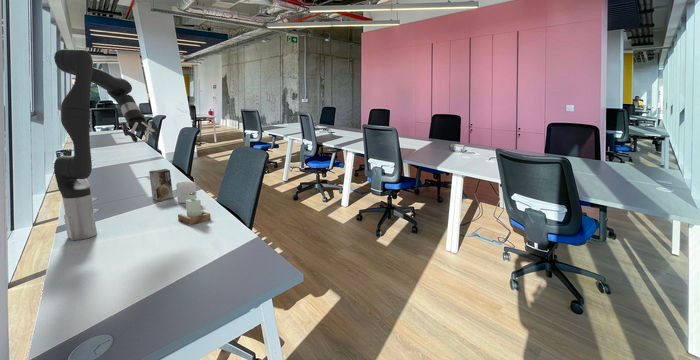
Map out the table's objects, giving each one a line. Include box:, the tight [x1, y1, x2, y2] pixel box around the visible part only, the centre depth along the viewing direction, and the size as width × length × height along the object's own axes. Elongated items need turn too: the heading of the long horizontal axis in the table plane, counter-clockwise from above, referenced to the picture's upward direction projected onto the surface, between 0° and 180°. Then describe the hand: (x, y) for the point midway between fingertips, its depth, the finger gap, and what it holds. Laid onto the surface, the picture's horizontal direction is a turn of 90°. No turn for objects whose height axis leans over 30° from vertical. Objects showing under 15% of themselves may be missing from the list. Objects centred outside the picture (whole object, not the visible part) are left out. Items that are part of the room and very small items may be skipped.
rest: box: [177, 210, 212, 226], centre depth 168 cm, size 10×11×3 cm
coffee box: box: [148, 168, 174, 202], centre depth 204 cm, size 9×6×16 cm
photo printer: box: [175, 180, 198, 204], centre depth 196 cm, size 10×4×12 cm, turn 82°
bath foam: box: [77, 178, 94, 206], centre depth 185 cm, size 7×7×20 cm
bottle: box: [185, 192, 202, 218], centre depth 167 cm, size 5×5×12 cm
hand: (146, 140), depth 165 cm, fingers open, 8 cm apart
